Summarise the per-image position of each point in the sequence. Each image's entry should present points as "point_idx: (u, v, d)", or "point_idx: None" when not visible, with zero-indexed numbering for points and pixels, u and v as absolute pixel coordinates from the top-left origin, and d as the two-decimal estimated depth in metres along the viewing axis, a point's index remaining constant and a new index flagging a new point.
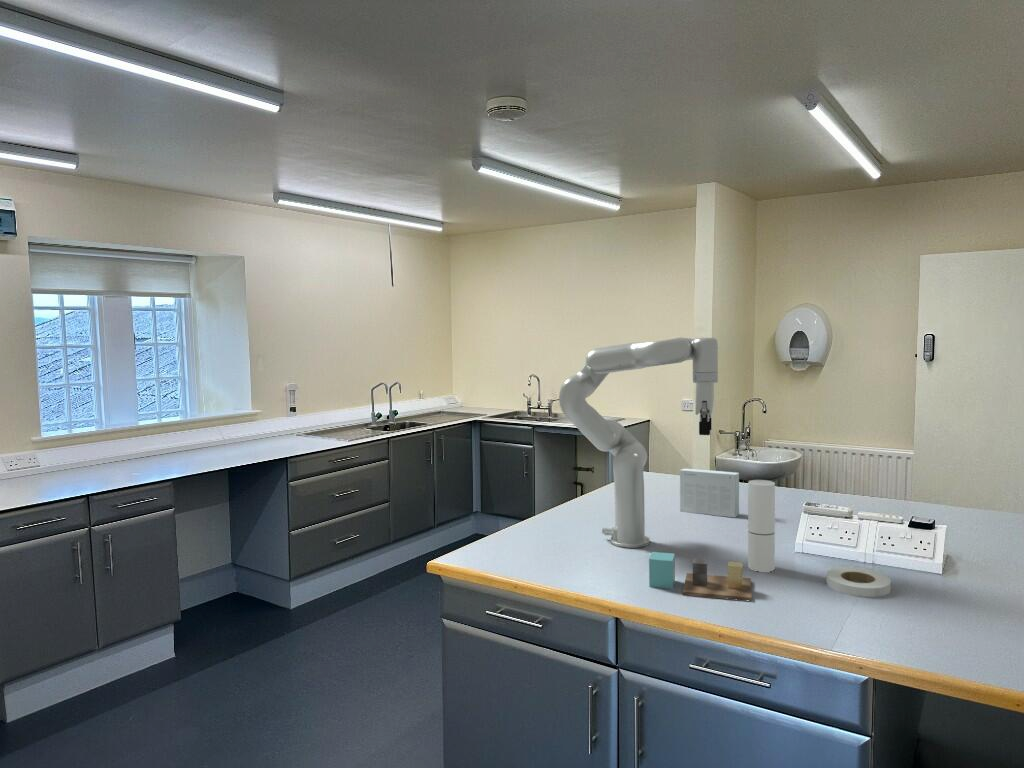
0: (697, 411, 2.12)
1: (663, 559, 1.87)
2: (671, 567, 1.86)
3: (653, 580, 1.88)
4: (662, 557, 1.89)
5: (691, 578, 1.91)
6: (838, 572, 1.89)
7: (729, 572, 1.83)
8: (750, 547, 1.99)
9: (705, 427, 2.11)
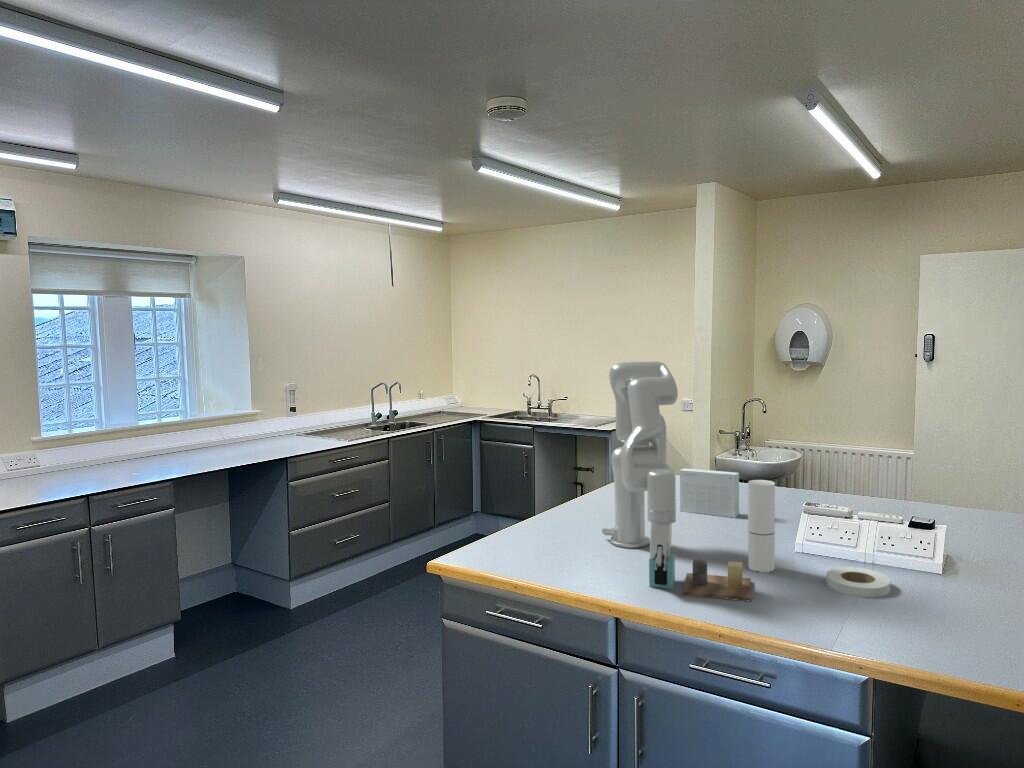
0: (652, 556, 1.86)
1: None
2: (671, 567, 1.86)
3: (653, 580, 1.88)
4: (662, 557, 1.89)
5: (691, 578, 1.91)
6: (838, 572, 1.89)
7: (729, 572, 1.83)
8: (750, 547, 1.99)
9: (661, 576, 1.86)
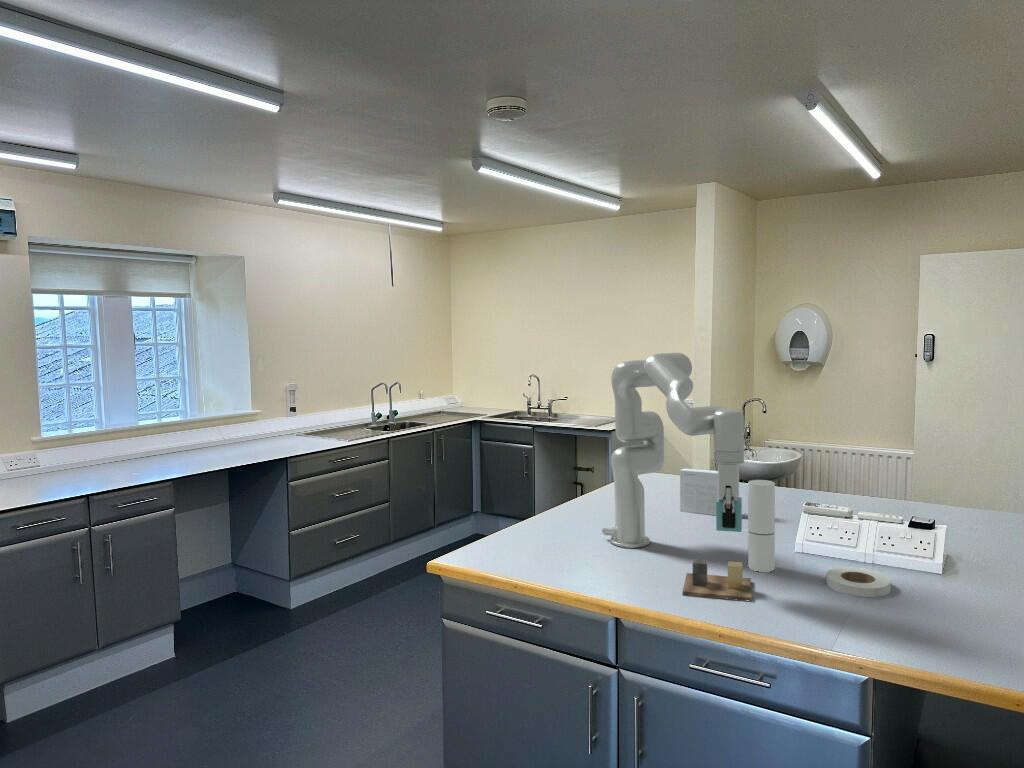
0: (720, 498, 1.79)
1: None
2: (740, 509, 1.79)
3: (720, 523, 1.81)
4: None
5: (691, 578, 1.91)
6: (838, 572, 1.89)
7: (729, 572, 1.83)
8: (750, 547, 1.99)
9: (730, 519, 1.79)
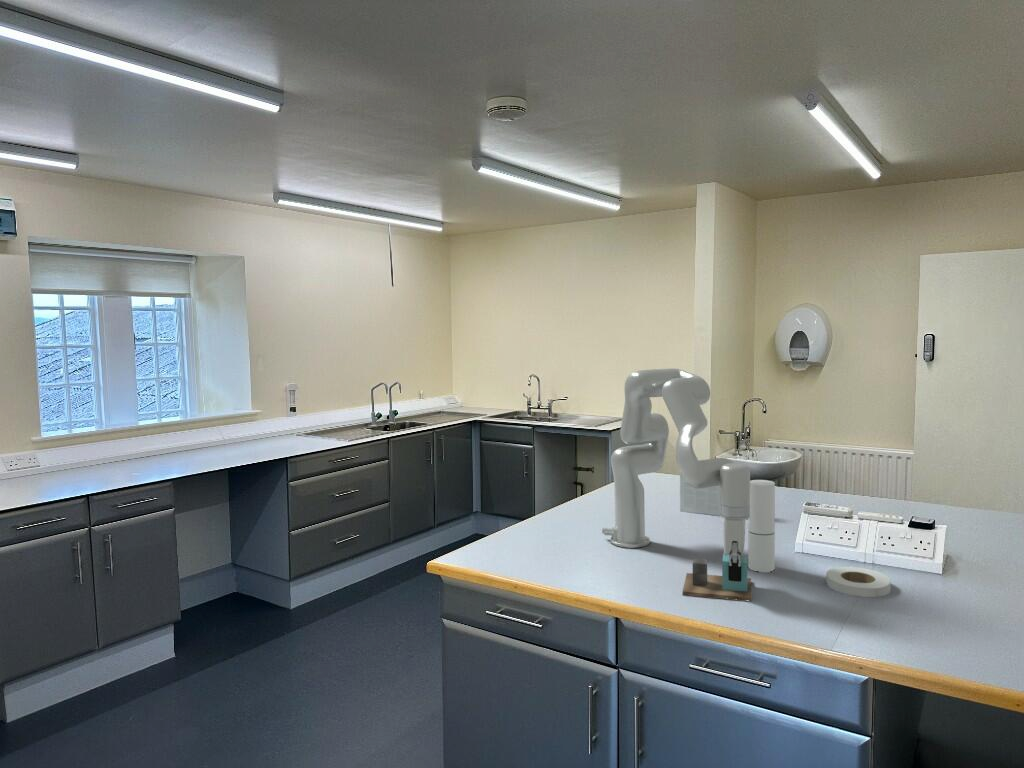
0: (726, 552, 1.79)
1: None
2: (746, 569, 1.80)
3: (726, 582, 1.82)
4: None
5: (691, 578, 1.91)
6: (838, 572, 1.89)
7: None
8: (750, 547, 1.99)
9: (736, 573, 1.78)
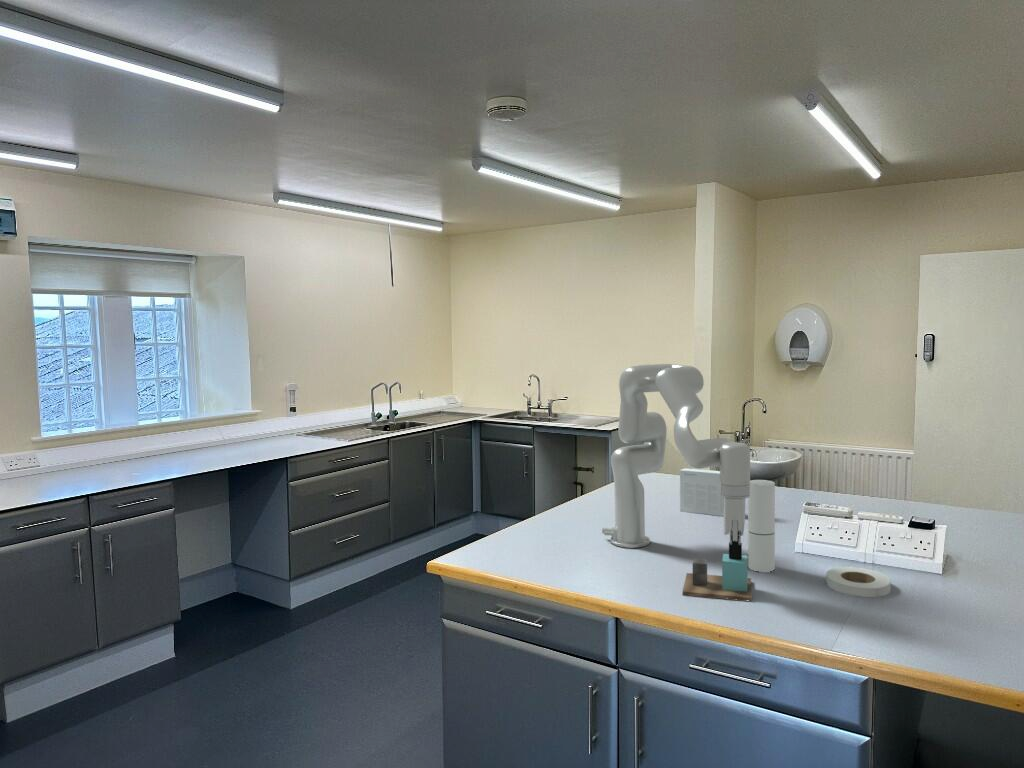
0: (726, 531, 1.79)
1: (737, 561, 1.81)
2: (746, 569, 1.80)
3: (726, 582, 1.82)
4: (736, 559, 1.83)
5: (691, 578, 1.91)
6: (838, 572, 1.89)
7: None
8: (750, 547, 1.99)
9: (736, 551, 1.82)
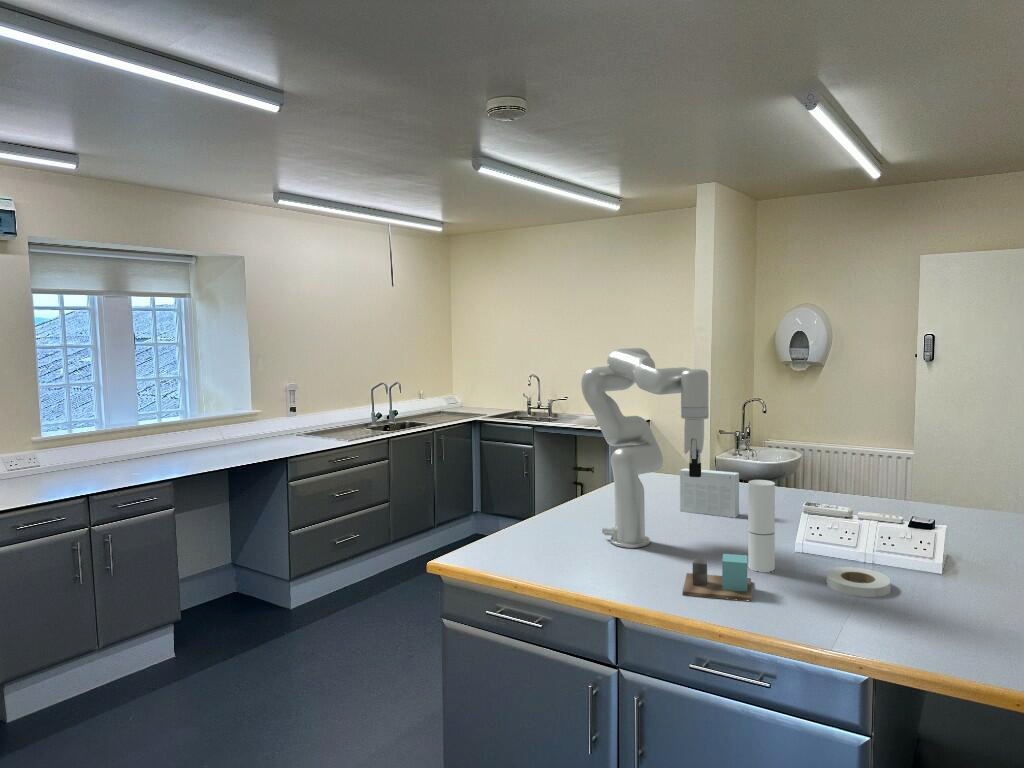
0: (686, 450, 1.94)
1: (737, 561, 1.81)
2: (746, 569, 1.80)
3: (726, 582, 1.82)
4: (736, 559, 1.83)
5: (691, 578, 1.91)
6: (838, 572, 1.89)
7: None
8: (750, 547, 1.99)
9: (695, 469, 1.97)
